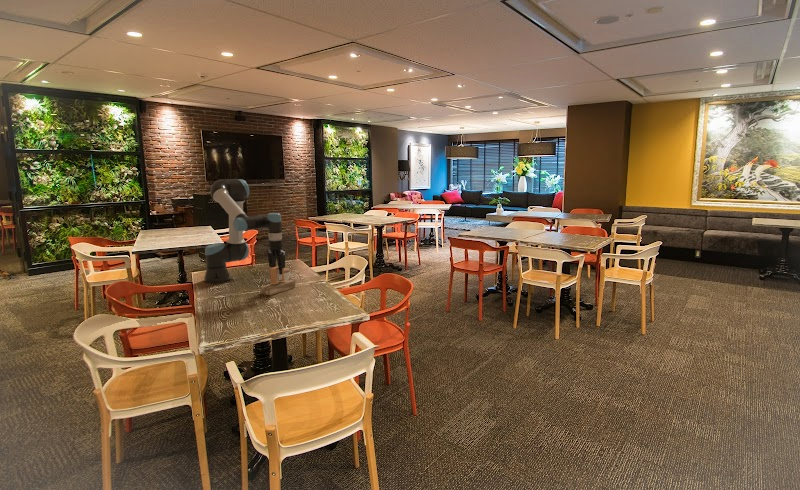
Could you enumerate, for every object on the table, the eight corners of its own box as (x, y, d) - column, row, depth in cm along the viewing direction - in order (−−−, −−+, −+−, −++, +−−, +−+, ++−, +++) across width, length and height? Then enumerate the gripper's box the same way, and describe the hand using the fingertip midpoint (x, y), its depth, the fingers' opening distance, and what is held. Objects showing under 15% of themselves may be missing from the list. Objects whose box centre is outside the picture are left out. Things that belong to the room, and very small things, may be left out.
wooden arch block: (270, 283, 248) (270, 268, 246) (280, 280, 254) (279, 265, 253) (274, 283, 246) (274, 268, 245) (284, 280, 253) (283, 266, 251)
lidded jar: (293, 279, 276) (292, 265, 274) (287, 283, 266) (286, 269, 264) (277, 279, 277) (276, 265, 275) (270, 283, 267) (269, 268, 265)
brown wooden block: (260, 293, 245) (259, 286, 244) (285, 285, 262) (285, 279, 261) (270, 295, 241) (269, 288, 240) (295, 287, 258) (294, 280, 257)
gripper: (260, 239, 247) (262, 278, 251) (281, 241, 239) (283, 282, 243) (270, 237, 253) (272, 276, 257) (290, 240, 245) (292, 279, 249)
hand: (277, 279), depth 250 cm, fingers closed on wooden arch block, 3 cm apart
